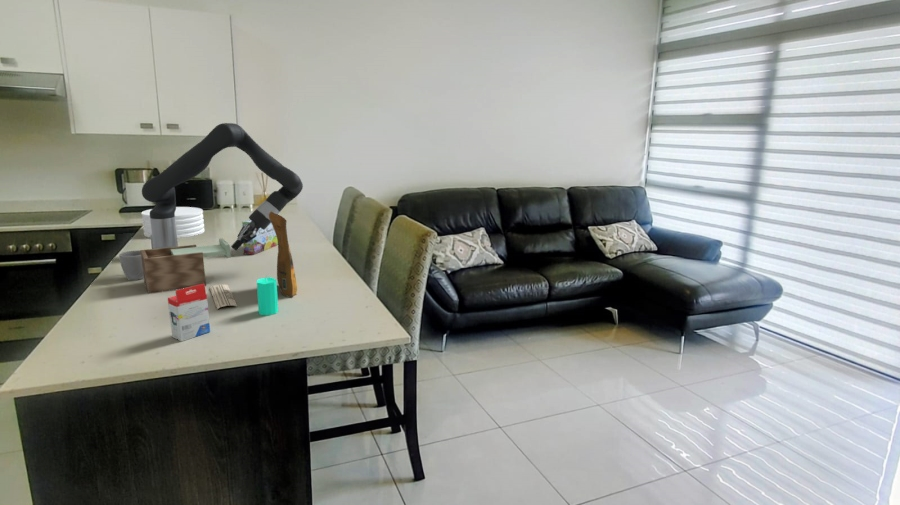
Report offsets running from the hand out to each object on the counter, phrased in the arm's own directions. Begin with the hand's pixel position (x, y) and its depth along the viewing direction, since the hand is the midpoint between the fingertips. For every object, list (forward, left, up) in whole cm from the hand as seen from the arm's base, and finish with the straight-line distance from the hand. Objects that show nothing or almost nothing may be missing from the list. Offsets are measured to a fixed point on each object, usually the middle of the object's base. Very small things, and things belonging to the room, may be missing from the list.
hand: (233, 248), depth 191 cm
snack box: (-15, +40, -11) cm, 44 cm away
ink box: (+23, -51, -11) cm, 58 cm away
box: (-14, -16, -11) cm, 23 cm away
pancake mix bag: (+27, -9, -11) cm, 31 cm away
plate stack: (-76, +55, -11) cm, 95 cm away
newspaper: (+12, -22, -12) cm, 28 cm away
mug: (-33, -13, -11) cm, 37 cm away
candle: (+33, -29, -11) cm, 46 cm away
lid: (-7, -9, -2) cm, 12 cm away
